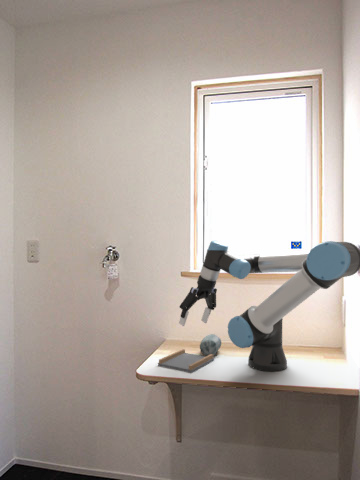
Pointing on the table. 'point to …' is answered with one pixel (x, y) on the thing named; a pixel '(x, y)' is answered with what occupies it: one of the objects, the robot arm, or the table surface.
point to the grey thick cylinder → (210, 344)
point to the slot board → (185, 361)
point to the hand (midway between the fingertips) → (192, 323)
